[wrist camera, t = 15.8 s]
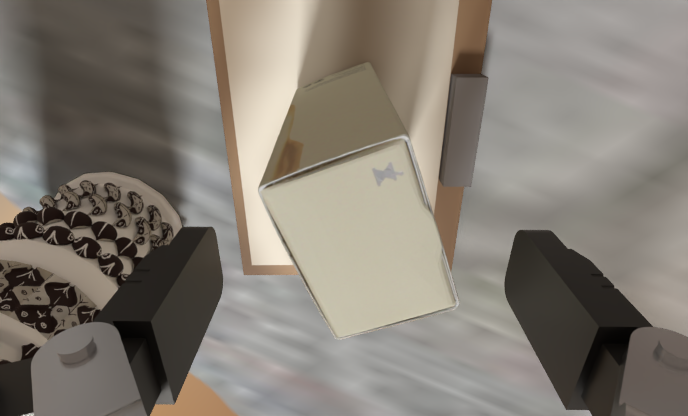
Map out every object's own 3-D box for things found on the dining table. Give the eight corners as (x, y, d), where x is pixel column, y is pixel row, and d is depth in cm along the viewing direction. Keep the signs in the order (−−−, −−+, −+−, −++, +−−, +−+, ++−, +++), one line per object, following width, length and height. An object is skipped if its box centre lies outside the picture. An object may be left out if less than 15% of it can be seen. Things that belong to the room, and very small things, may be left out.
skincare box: (293, 88, 21) (243, 177, 10) (371, 58, 20) (407, 119, 10) (336, 192, 24) (333, 349, 13) (405, 168, 23) (464, 312, 12)
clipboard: (499, -85, 19) (515, -95, 17) (447, 267, 28) (455, 285, 26) (199, -86, 19) (184, -96, 17) (246, 267, 28) (240, 286, 26)
